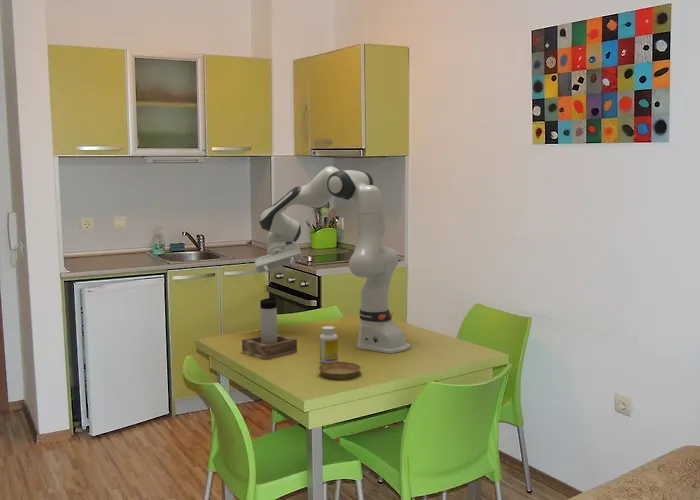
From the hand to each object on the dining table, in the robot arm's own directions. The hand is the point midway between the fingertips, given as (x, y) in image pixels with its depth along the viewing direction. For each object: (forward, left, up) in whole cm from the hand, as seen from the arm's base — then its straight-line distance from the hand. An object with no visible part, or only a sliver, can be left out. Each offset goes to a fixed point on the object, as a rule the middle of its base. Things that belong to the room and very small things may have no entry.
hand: (280, 268), depth 295 cm
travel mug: (-12, +16, -29) cm, 35 cm away
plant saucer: (-52, +17, -30) cm, 63 cm away
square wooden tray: (-12, +16, -30) cm, 36 cm away
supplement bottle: (-38, +9, -30) cm, 49 cm away
